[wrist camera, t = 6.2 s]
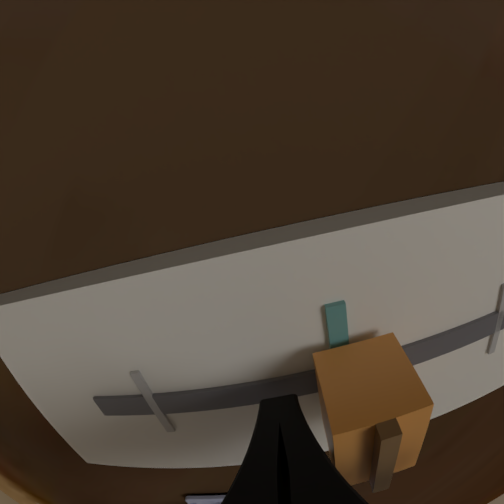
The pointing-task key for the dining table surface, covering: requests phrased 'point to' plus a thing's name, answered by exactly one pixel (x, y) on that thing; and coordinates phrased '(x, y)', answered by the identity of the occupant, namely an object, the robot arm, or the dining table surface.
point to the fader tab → (371, 409)
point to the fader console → (259, 327)
